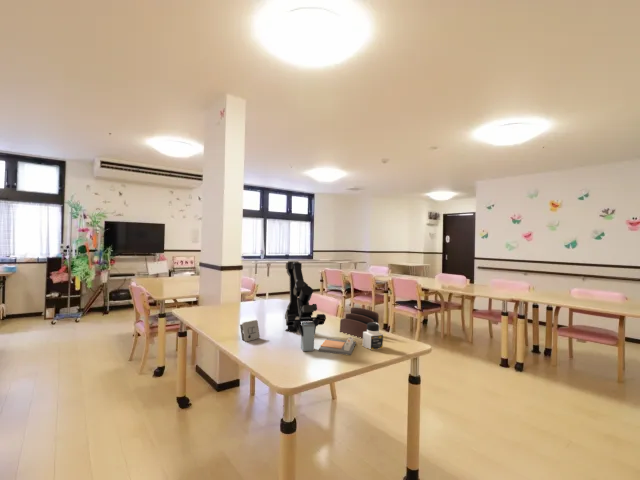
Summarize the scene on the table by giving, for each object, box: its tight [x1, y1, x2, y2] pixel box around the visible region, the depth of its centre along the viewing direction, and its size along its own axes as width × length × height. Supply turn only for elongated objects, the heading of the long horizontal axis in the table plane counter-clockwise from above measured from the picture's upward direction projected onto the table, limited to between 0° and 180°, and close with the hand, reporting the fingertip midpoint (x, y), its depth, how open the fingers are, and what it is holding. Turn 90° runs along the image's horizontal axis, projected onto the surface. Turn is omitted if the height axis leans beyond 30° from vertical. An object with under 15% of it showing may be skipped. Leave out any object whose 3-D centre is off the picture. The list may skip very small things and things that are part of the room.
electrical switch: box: [239, 319, 261, 342], centre depth 168 cm, size 9×5×9 cm, turn 141°
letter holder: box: [339, 307, 380, 339], centre depth 184 cm, size 10×20×14 cm, turn 45°
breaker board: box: [318, 336, 357, 356], centre depth 160 cm, size 18×15×4 cm
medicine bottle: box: [362, 322, 384, 351], centre depth 162 cm, size 7×7×12 cm
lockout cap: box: [300, 321, 316, 352], centre depth 155 cm, size 5×5×12 cm
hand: (308, 335), depth 154 cm, fingers closed on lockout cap, 5 cm apart
